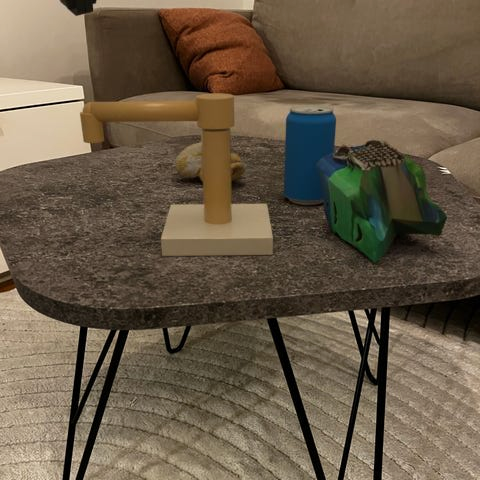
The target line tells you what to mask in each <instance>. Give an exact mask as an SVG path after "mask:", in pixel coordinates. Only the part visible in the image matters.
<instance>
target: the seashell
mask: <svg viewBox="0 0 480 480" xmlns="http://www.w3.org/2000/svg"><path fill="white" fill-rule="evenodd" d="M174 165H175V170H176V172H178V174H179V175H180V176H182V177H184V178H186V179H195V178H197V177H199V179H200V181H201V182H202V183H203V173H202V146H201V141H200V142H198V143H193V144H191V145H188V146H186V147H185V148H184V149H182V151H180V153H179V154H178V155H177V156H176V159H175V162H174ZM246 167H247V166H246V165H245V163H242V159H241V157H240V156H239V155H238V154H237V153H233V152H231V183H233V182H234V181H235V180H237V179H239V178H240V177H241V176H243V175H244V173H245V172H246V171H247V168H246Z"/></svg>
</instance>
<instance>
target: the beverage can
mask: <svg viewBox="0 0 480 480" xmlns="http://www.w3.org/2000/svg"><path fill="white" fill-rule="evenodd" d="M334 109H335V108H334V107H332V106H329V105H323V104H322V105H321V104H320V105H319V104H302V105H299V104H298V105H293V106H291V107H289V113H288V114H287V116H286V118H285V140H284V141H285V142H284V174H283V196H285V198H287V199H288V200H289V201H290V202H291V203H294V204H297V205H303V206H312V205H313V206H315V205H321V204H324V201H323V195H322V188H321V182H320V178H319V173H318V169H317V163H318V162H319V160H320V159H322V158H323V157H325V156H328V155H330V154H332V153H334V152H335V144H336V143H335V141H336V129H337V117H336V115H335V113H334Z"/></svg>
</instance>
